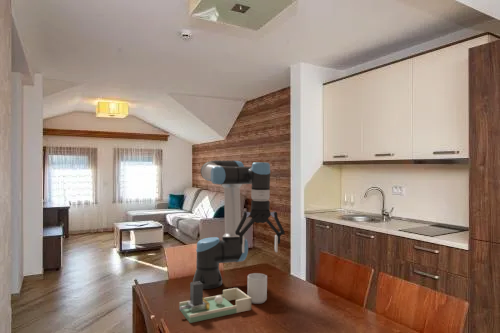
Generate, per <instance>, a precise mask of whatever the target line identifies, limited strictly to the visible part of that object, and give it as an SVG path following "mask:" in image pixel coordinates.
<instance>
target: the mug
mask: <svg viewBox="0 0 500 333" xmlns="http://www.w3.org/2000/svg"><path fill="white" fill-rule="evenodd" d="M246 282H247V286H246V288H247V290H246V291H247V292H246V293H247V295H248V296H249V297H251V304H256V305H257V304H258V305H260V304H263V303H265V302H266V301H267V299H268V293H267V292H268V275H267V274H265V273H260V272H253V273H249V274H248V275H247V281H246Z"/></svg>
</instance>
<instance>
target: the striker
mask: <svg viewBox="0 0 500 333" xmlns="http://www.w3.org/2000/svg"><path fill="white" fill-rule="evenodd" d="M189 286H190V288H189V290H190V293H189V296H190V298H189V300H186V301H187V305H185V306H180V307H178V308H179V309H178V310H179V311H180V310H184V309H189V310H190V311H191V312H195V311H200V310H205V309H206V310H209V308H210V303H209V302H208V301H206V300H205V299H204V298H205V297H203V296H204V295H203V293H204V289H203V283H201V282H200V281H196V282H193V281H191V282H190V284H189Z"/></svg>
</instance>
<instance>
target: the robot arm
mask: <svg viewBox="0 0 500 333" xmlns="http://www.w3.org/2000/svg"><path fill="white" fill-rule="evenodd" d="M200 176H201V177H202V179H204V180H206V181H208V182H211V184H214V185H220V186H221V187H222V188H223V196H224V201H223V202H224V233H223V235H222V236H221V237H222V238H221V240H220V238H219V237H217V236H212V237H205V238H202V239H200V240H198V241H197V244H196V249H195V251H196V252H195V253H196V261H195V262H196V263H195V264H196V265H195V266H196V269H195V272H194V276H193V279H192V282H196V281H200V282H201V283H203V290H211V289H212V290H213V289H216V288H219V287H221V286H222V285H223V278H222V274H221V271H220V264H225V263H226V264H227V263H240V262H244V261H245V260H246V259H247V256H248V253H249V243H248V239H247V238H245V234H246V232H248V230H249V229H250V228H251V227H252V226H253V224H255V223H256V224H260V223H261V224H264V223H266V224H268V226H269V227H270V228H271V229H272V230H273V232H274V233H275V235H274V252H275V253H278V252H279V251H278V248H279V246H278V244H279V245H280V244H281V236H282V235H285V234H286V232H285V231H284V227H283V226H282V224H281V221H280V220H279V218H278V212H277V211H274V210H273V212H272V211H270V206H271V205H270V197H271V196H270V193H271V192H270V187H271V165H270V162H259V161H258V162H252V163H251V166H245V165H244V163H243V162H242V161H239V160H218V159H217V160H216V159H215V160H210V161H207V162H205V163H204V164H203V165H202V166H201V168H200ZM243 185H251V191H250V192H251V193H250V194H251V195H250V196H251V197H250V198H251V199H252V200H251V202H250V203H251V204H250V205H251V206H250V212H249V211H245V210H244V211H243V213H242V218H241V187H242V186H243ZM249 216H250V218H251V219H250V220H249V222H248V223H247V224H246V225H245V226H244V227H243V225H244V224H245V222H246V220H247V218H249ZM270 217H272V218H273V219H274V221H275V223H276V225H277V228H278V229H279V230H278V229H277V228H276V226H274V224H273V223H272V222H271V221H270V219H269V218H270ZM242 227H243V228H242Z"/></svg>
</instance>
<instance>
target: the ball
mask: <svg viewBox="0 0 500 333" xmlns="http://www.w3.org/2000/svg"><path fill="white" fill-rule="evenodd" d="M215 296H216V297H215V303H216V304H218V305H219V304H221V303H222V302H223V298H222V296H217V295H215Z"/></svg>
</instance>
